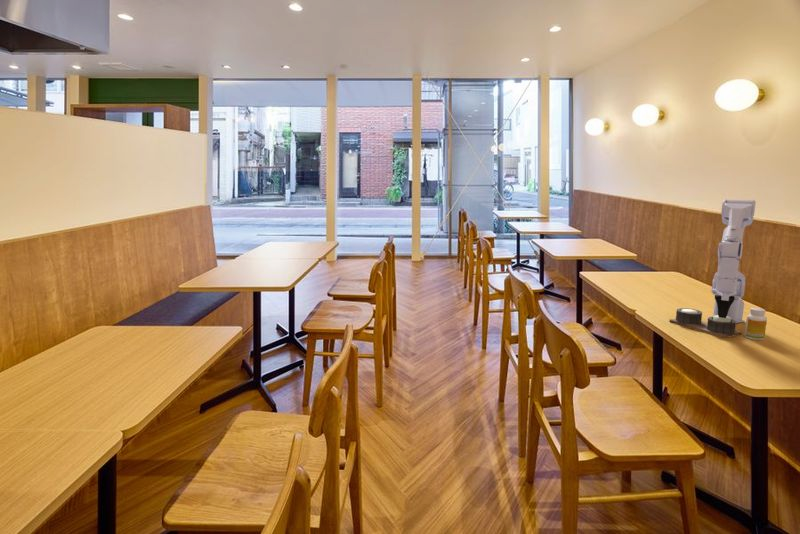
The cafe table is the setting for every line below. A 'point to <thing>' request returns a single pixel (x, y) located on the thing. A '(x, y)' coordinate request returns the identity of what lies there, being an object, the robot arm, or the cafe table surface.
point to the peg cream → (688, 311)
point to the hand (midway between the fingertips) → (722, 317)
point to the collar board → (705, 324)
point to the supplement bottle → (756, 324)
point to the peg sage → (721, 319)
